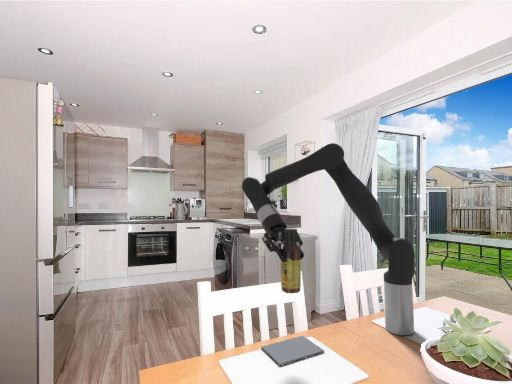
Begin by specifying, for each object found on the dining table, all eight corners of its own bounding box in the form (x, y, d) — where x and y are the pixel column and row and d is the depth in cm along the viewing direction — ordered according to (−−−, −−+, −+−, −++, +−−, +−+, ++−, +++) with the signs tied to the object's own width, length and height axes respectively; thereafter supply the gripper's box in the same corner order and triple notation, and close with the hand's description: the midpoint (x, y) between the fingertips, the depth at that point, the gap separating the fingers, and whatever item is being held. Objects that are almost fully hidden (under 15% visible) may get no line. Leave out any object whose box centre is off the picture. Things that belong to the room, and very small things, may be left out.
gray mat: (302, 337, 95) (302, 335, 95) (324, 352, 85) (323, 350, 85) (261, 348, 87) (261, 346, 87) (279, 366, 78) (279, 364, 78)
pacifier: (454, 338, 94) (469, 336, 95) (452, 319, 94) (467, 317, 95) (436, 329, 101) (450, 327, 102) (435, 311, 101) (449, 309, 102)
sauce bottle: (279, 288, 90) (278, 227, 91) (298, 287, 91) (297, 227, 92) (283, 295, 84) (282, 229, 85) (303, 294, 84) (302, 229, 85)
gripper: (258, 213, 91) (281, 254, 80) (291, 212, 99) (316, 249, 88) (250, 228, 95) (270, 269, 85) (282, 226, 103) (305, 263, 92)
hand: (293, 259), depth 86 cm, fingers closed on sauce bottle, 6 cm apart
